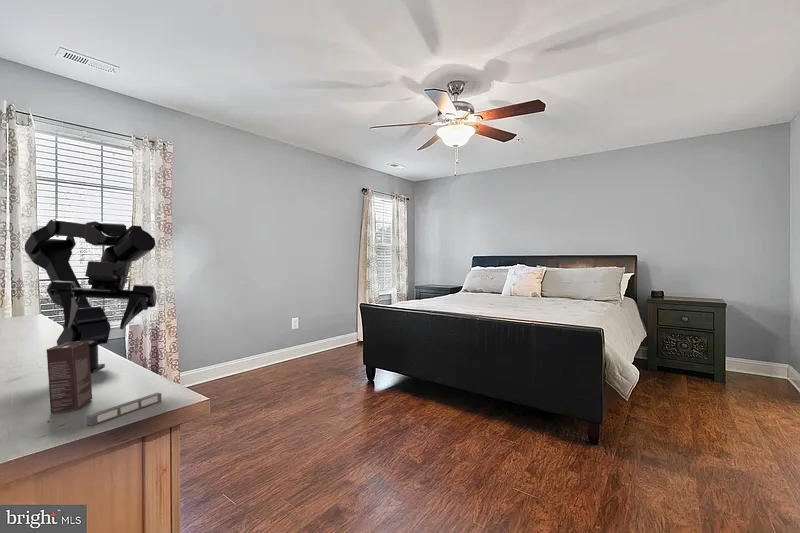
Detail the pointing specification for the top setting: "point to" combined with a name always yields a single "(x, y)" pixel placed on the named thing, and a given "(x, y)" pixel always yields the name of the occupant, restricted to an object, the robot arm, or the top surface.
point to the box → (69, 376)
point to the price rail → (123, 409)
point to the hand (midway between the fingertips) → (94, 328)
